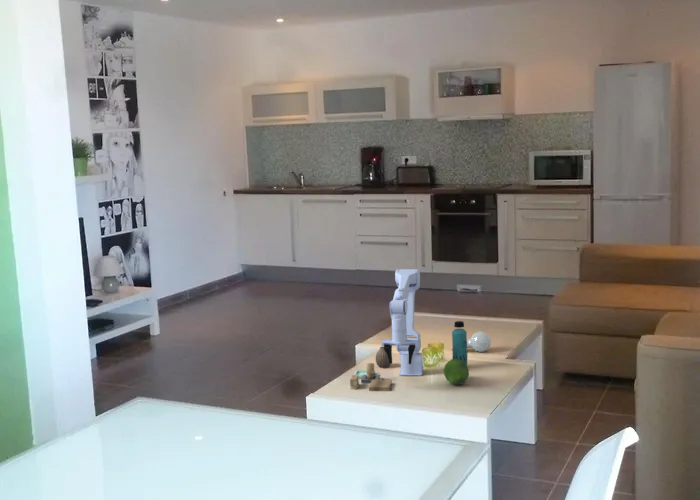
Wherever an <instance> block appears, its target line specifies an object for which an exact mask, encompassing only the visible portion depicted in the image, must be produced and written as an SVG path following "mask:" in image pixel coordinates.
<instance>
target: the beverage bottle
mask: <svg viewBox="0 0 700 500" xmlns="http://www.w3.org/2000/svg"><path fill="white" fill-rule="evenodd" d="M453 326H454V328H455V329H453V330H452V332H451V340H452V350H451V351H452V352H451V353H452V356H451V357H452V359H460V360H462V361H464V362H465V364H466V365H467V364H468V348H467V339H468V337H467V331H466V330H465V328H464V327H465V323H464V321H463V320H457V321H454V325H453ZM467 366H468V365H467Z"/></svg>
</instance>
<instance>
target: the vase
mask: <svg viewBox="0 0 700 500" xmlns="http://www.w3.org/2000/svg"><path fill="white" fill-rule="evenodd" d="M375 363H376V365H377V366H378V367H379V368H381V369H386V368H389V367H390V365H391V364H390V363H389V359H388V356H387V354H386V352H385V350H384V346H380V347H379V349H378V351H377V352H376V355H375Z"/></svg>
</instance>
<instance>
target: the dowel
mask: <svg viewBox="0 0 700 500" xmlns="http://www.w3.org/2000/svg"><path fill="white" fill-rule="evenodd" d="M365 367H366V369H365V370H367V379H375V375H376V373H375V374H374V370H375V363H371V362H370V363H366V366H365Z"/></svg>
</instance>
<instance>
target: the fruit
mask: <svg viewBox="0 0 700 500" xmlns="http://www.w3.org/2000/svg"><path fill="white" fill-rule="evenodd" d="M443 373H444V377H445V379H446V381H447V382H448V383H450V384H451V385H462V384H465V383H466V381H467V380H468V379H469V376H470V370H469V366H468V365H466V364H465V362H464V361H462V360H460V359H453V358H452V359H450V360H448V361H447V362H446V363H445V364H444V369H443Z"/></svg>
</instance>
